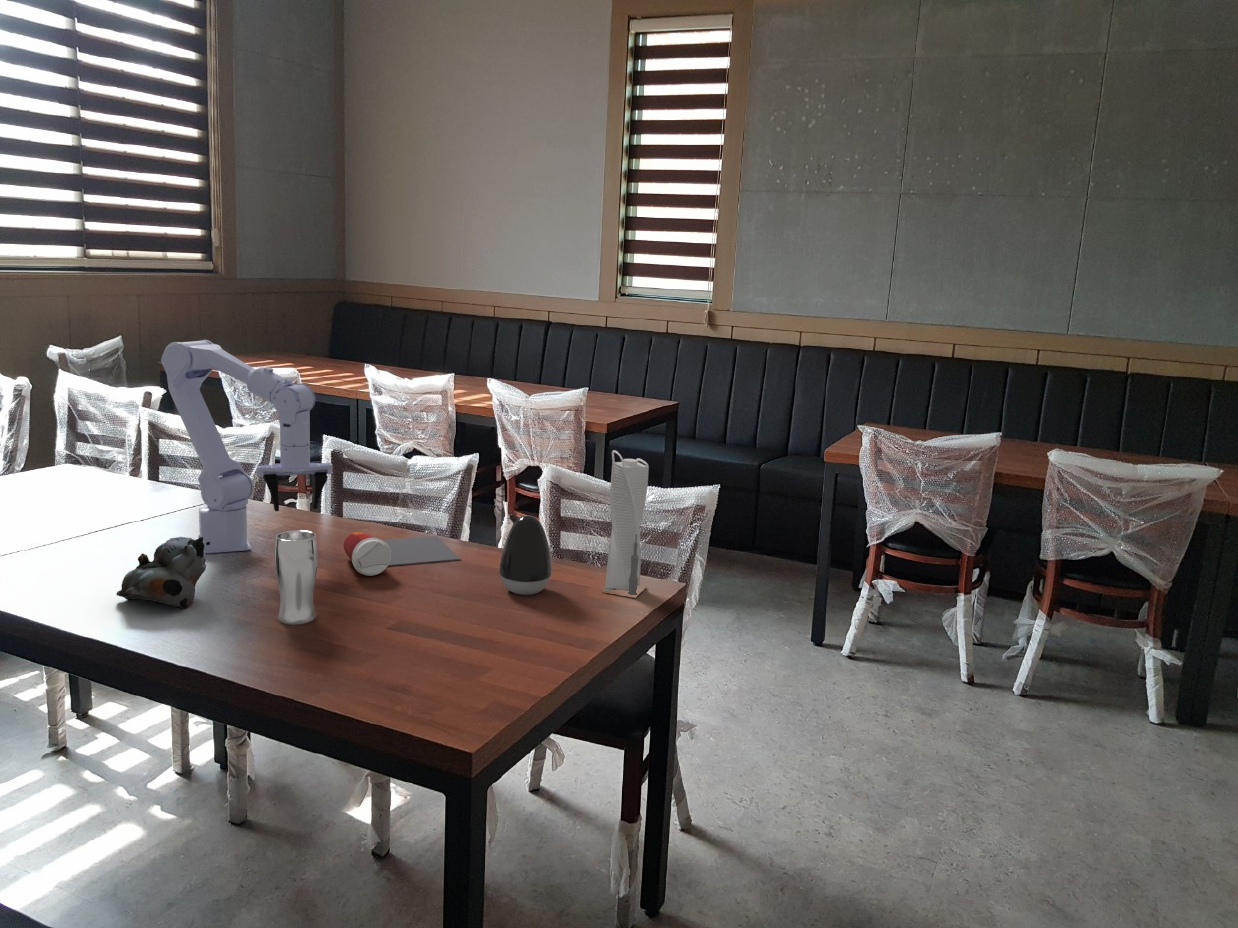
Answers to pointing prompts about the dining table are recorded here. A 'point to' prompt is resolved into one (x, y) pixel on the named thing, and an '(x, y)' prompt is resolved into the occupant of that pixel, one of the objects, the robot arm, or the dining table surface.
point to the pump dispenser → (525, 557)
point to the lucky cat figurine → (167, 573)
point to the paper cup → (367, 553)
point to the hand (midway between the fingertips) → (295, 509)
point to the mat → (419, 551)
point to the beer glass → (296, 575)
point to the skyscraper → (626, 523)
